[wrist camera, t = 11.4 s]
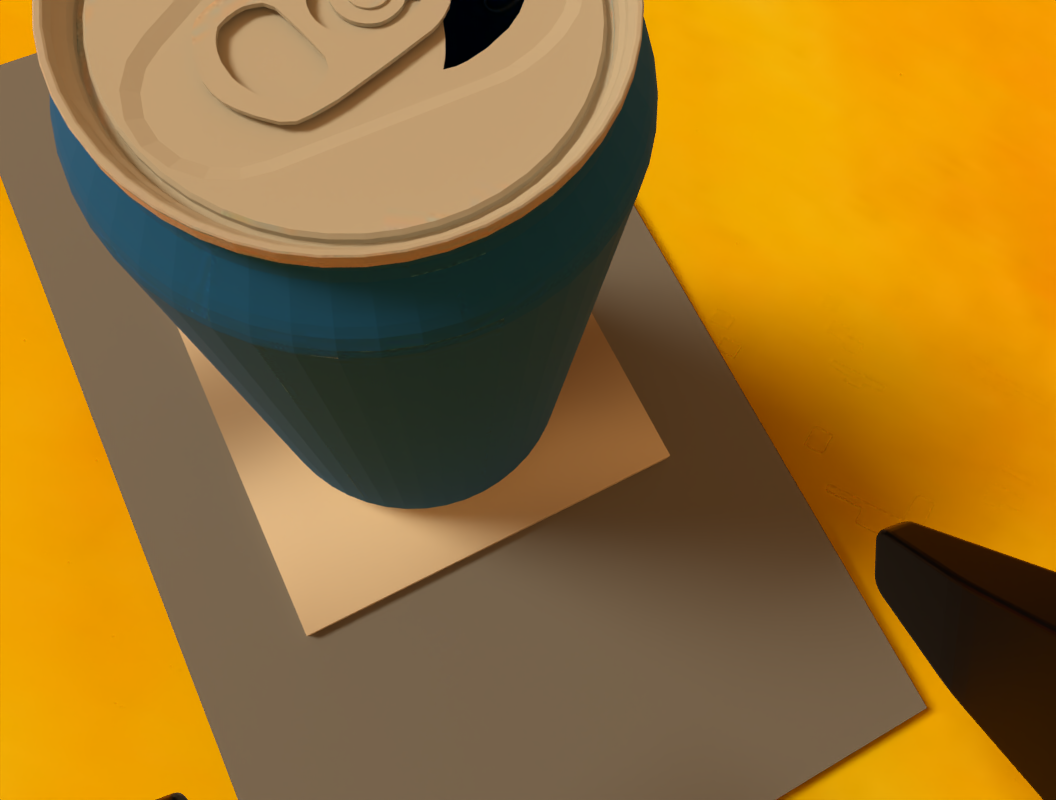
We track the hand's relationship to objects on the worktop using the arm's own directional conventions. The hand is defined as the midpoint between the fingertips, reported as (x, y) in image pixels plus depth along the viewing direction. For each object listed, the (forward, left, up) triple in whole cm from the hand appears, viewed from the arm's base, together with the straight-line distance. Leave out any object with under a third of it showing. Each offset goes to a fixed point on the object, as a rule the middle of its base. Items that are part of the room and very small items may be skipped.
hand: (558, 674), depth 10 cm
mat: (+6, -3, -9) cm, 11 cm away
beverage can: (+6, -3, -8) cm, 11 cm away
